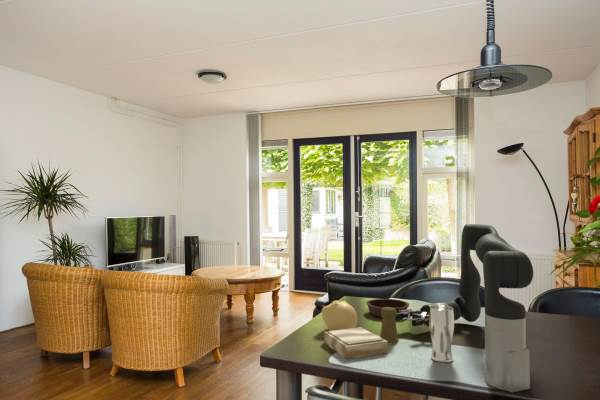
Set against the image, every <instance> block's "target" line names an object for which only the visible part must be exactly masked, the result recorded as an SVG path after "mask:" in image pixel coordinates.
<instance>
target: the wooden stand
mask: <svg viewBox="0 0 600 400" xmlns="http://www.w3.org/2000/svg"><path fill="white" fill-rule="evenodd" d="M323 344H325V345H326V346H328V347H329V348H331V349H332V350H334V351H335V352H336V353H337V354H339V355H340V356H341V357H343V358H344V359H346V360H350V359H351V360H352V359H358V358H363V357H364V358H365V357H370V356H377V354H379V355H383V353H385V354H388V353H389V351H388V348H389V347H388V346H389V344H388V341H386V340H384V339H382V338H381V337H380V336H378V335H377V334H375V333H373V332H371V331H369V330H367V329H366V328H363V327H360V326H359V327H355V328H350V329H341V330H333V331H330V330H328V331H327V330H326V331H323Z"/></svg>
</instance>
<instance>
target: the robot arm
mask: <svg viewBox="0 0 600 400" xmlns="http://www.w3.org/2000/svg"><path fill="white" fill-rule="evenodd" d="M471 251H475V254H476V256H477V258H478V259H479V262H481V263H482V272H483V287H484V288H483V289H484V355H485V357H484V364H485V369H484V370H485V371H484V372H485V383H486V384H487V385H489V386H490V387H493V388H495V389H498V390H503V391H507V392H510V393H517V392H521V391H525V390H530V389H531V387H530V386H531V374H530V372H531V369H530V368H531V364H530V363H531V362H530V356H531V355H530V353H531V352H530V350H529V348H527V345H526V344H527V341H526V335H527V333H526V332H527V331H526V328H527V327H526V326H527V325H526V307H525V305H524V304H522V303H521V302H519V301H516V300H513V299H510V298H508V297H506V296H505V295H502V293H501V292H500V289H524V288H527V287H528V286H530V285H531V283H532V281H533V278H534V267H533V263H532V262H531V259H530V258H529V256H528V255H527V254H526V253H525V252H523V251H521V250H518V249H516V248H515V247H513V246H512V245H510V244H509V243H508V242H507V241H506V240H505V239H504V238H503V237H501V236H500V235H499V233H498V231H497V230H496V228H495V227H494V226H493V225H489V224H479V223H467V224H466V223H465V225H464V226H463V228H462V232H461V242H460V278H459V285H458V294H459V295H457V296H455V297H454V298H453V299H451V300H449V301H444V302H435V303H429V304H423V305H422V306H421V308H420V309H415V310H413V309H412V308H407V309H406V310H399V313H397V316H396V318H395V321H396V322H397V321H403V320H408V321H409V322H411V326H412V327H420V326H422V327H424V326H426V327H428V328H430V326H429V314H430V306H432V305H445V306H450V307H452V308H453V312H454V322H455V321H458V320H459V319H461V318H463V320H465V321H467V322H469V323H473V322H476V321H477V320H478V319H480V316H481V313H482V308H481V301H480V300H481V299H480V294H479V293H480V288H481V282H482V281H481V280H482V279H481V278H482V277H481V275H480V272H479V270H478V268H477V267H476V265H475V263H474V261H473V259H472V256H471Z"/></svg>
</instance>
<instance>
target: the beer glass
mask: <svg viewBox="0 0 600 400" xmlns="http://www.w3.org/2000/svg"><path fill="white" fill-rule="evenodd" d="M429 326H430V327H429V330H430V331H429V332H430V338H431V343H432V344H431V345H432V348H431V352H430V353H431V355H430V359H431V358H432V359H433V360H432V361H434V360H435V361H434V362H437V361H438V363H443V362H448V363H451V361H452V362H453V360H454V358H453V352H452V345H453V343H452V342H453V339H454V333H455V332H454V331H455V321H454V312H453V308H452V307H450V306H445V305H432V306H430V314H429Z"/></svg>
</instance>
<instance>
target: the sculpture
mask: <svg viewBox="0 0 600 400" xmlns="http://www.w3.org/2000/svg"><path fill="white" fill-rule="evenodd" d="M321 316H322V317H321V318H322V319H321V320H323V321H324V324H325V326H326V328H327V329H328V331H333V330H341V329H350V328H357V327H356V326H357V325H358V314H357V312H356V310H355V307H354V306H352V305H350V304H349V303H348V302H347V300H343V301H342V300H333V301H331V303H330V304H328V305H326V306H323V307H322V308H321Z"/></svg>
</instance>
